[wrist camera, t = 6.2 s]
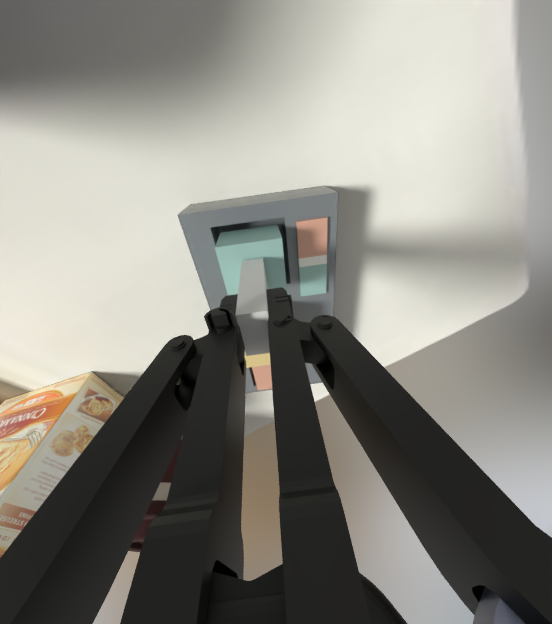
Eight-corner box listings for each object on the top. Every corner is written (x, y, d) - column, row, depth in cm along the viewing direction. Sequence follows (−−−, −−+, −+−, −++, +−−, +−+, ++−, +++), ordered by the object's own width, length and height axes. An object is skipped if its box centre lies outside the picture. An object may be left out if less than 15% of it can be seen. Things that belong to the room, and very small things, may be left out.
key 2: (220, 232, 18) (214, 247, 15) (277, 224, 18) (282, 238, 15) (233, 283, 21) (230, 303, 18) (282, 276, 21) (287, 295, 18)
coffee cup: (180, 444, 44) (152, 558, 31) (137, 422, 38) (83, 549, 26) (221, 427, 41) (208, 542, 29) (182, 401, 36) (145, 529, 24)
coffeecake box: (91, 369, 31) (-83, 606, 15) (128, 398, 35) (21, 608, 19) (2, 398, 32) (-240, 637, 16) (46, 422, 36) (-114, 633, 20)
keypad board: (189, 204, 20) (176, 215, 17) (324, 185, 20) (339, 192, 17) (240, 370, 33) (239, 396, 29) (322, 358, 33) (331, 383, 29)
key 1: (251, 343, 28) (251, 365, 25) (288, 338, 28) (292, 359, 25) (257, 368, 31) (258, 390, 28) (291, 363, 31) (295, 385, 28)
